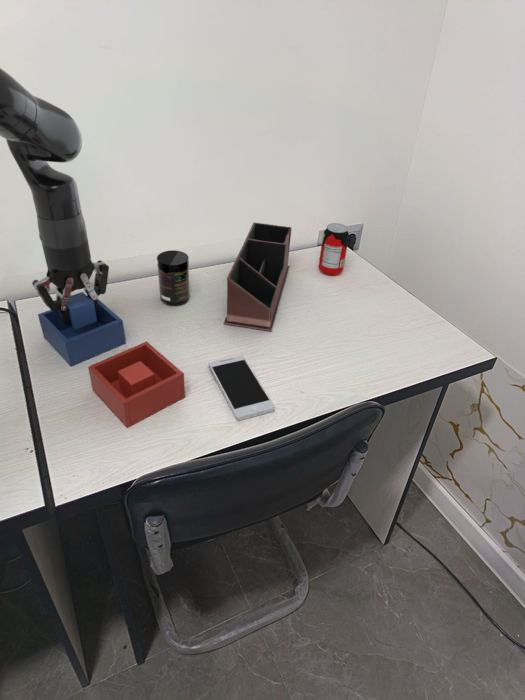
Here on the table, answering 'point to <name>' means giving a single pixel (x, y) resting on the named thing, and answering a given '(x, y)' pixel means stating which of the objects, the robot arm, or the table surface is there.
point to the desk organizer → (258, 277)
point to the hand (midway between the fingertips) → (80, 318)
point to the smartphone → (241, 387)
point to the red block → (135, 378)
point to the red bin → (145, 401)
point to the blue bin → (83, 335)
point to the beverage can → (333, 249)
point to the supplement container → (173, 277)
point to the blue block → (81, 310)
